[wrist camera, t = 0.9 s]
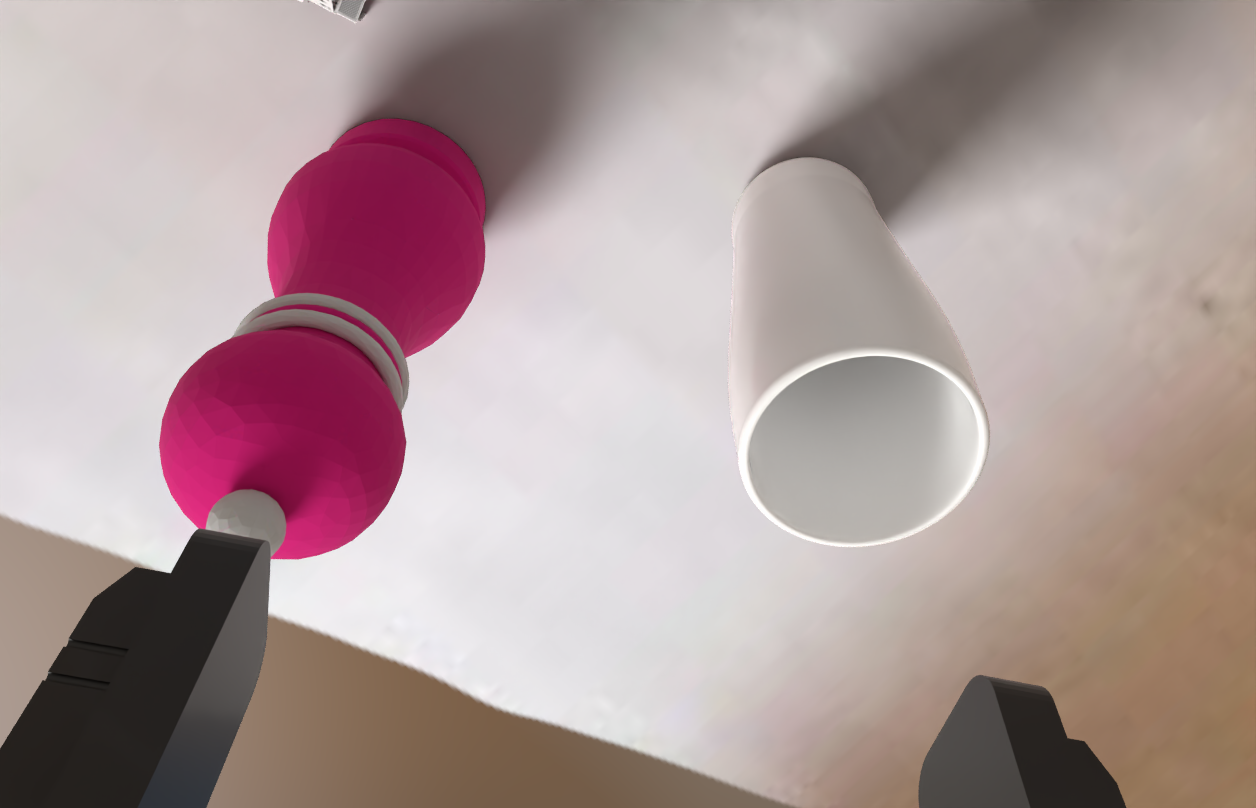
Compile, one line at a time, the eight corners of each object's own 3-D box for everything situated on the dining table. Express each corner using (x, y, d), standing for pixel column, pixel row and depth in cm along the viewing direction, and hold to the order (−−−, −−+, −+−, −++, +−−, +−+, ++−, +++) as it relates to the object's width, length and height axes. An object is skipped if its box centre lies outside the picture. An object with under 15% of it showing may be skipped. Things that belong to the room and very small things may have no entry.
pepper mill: (458, 311, 44) (339, 700, 27) (282, 237, 42) (43, 604, 26) (529, 156, 40) (441, 498, 24) (340, 69, 39) (104, 370, 22)
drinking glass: (677, 194, 41) (687, 423, 29) (839, 96, 39) (927, 298, 26) (766, 327, 44) (811, 586, 32) (922, 243, 42) (1035, 486, 30)
